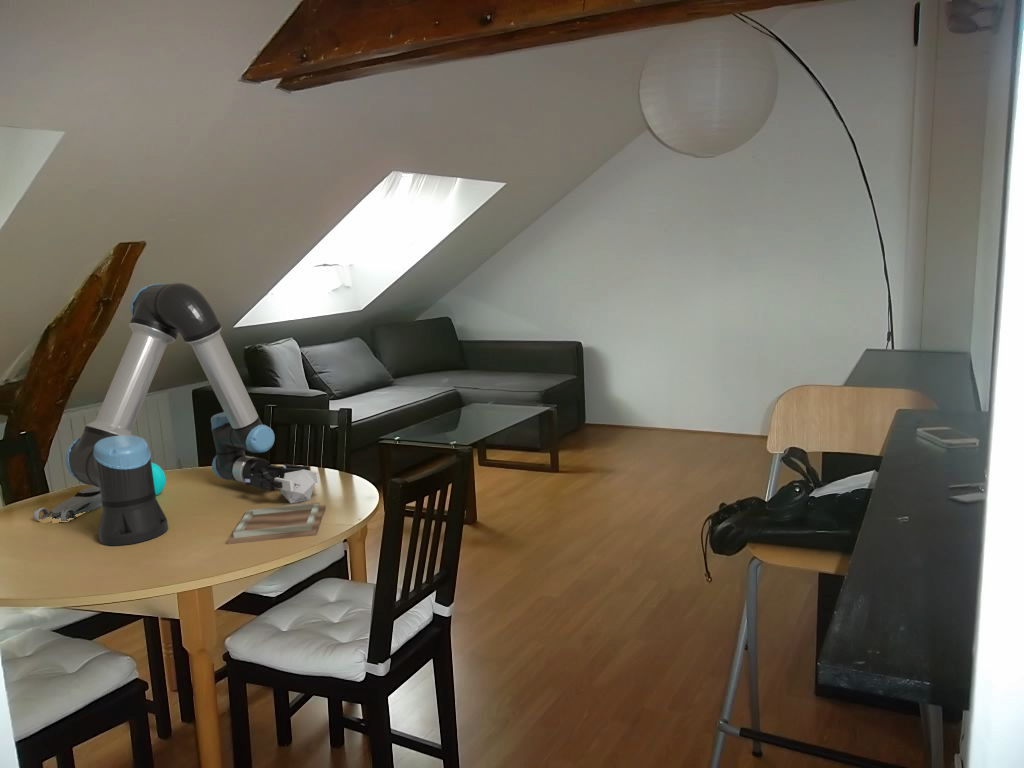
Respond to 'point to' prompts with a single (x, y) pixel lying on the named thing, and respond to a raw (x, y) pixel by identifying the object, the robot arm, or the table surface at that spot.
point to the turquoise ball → (158, 478)
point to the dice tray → (278, 522)
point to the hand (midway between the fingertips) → (304, 481)
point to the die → (299, 486)
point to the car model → (74, 505)
